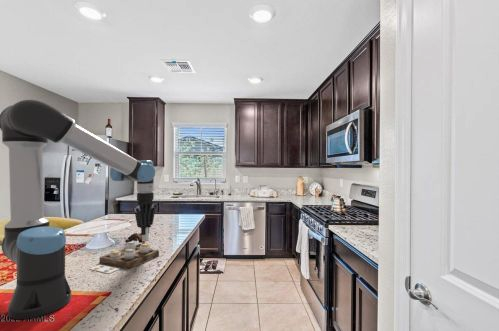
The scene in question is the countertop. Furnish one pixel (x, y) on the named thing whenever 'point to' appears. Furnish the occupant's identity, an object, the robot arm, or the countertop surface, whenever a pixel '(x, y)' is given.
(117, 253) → the button inner left
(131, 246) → the button outer left
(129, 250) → the button inner right
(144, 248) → the button outer right
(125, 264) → the button board
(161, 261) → the countertop surface
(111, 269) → the pattern card
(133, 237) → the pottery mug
